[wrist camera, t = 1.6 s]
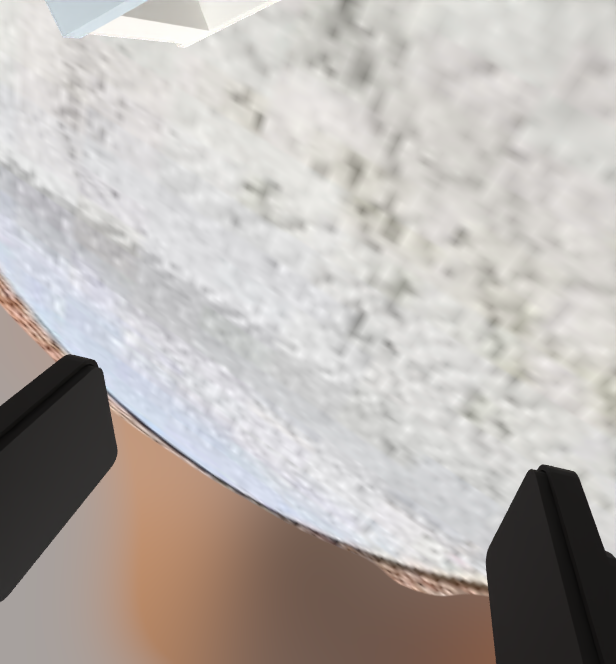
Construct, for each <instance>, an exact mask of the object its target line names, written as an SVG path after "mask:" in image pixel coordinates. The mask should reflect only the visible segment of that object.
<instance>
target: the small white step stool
mask: <svg viewBox="0 0 616 664" xmlns="http://www.w3.org/2000/svg"><path fill="white" fill-rule="evenodd" d="M278 1H280V0H45V2H46V4H47V6H48V8H49V10H50V12H51V14H52V16H53V18H54V20H55V22H56V24H57V26H58V28H59V30H60V32H61V34H62V36H63V37H68V38H79V39H80V38H82V37H84V36H86V35H87V34H92V35H102V36H112V37H122V38H132V39H141V40H151V41H161V42H171V43H176V45H177V47H185V48H186V47H188V46H190V45H192V44H194V43H196V42H198V41H200V40H202V39H204V38H206V37H208V36H210V35H212V34H214V33H216V32H218V31H220V30H222V29H224V28H226V27H228V26H230V25H232V24H234V23H236V22H238V21H240V20H242V19H244V18H246V17H248V16H250V15H252V14H254V13H256V12H258V11H260V10H262V9H264V8H266V7H268V6H270V5H272V4H274V3H276V2H278Z"/></svg>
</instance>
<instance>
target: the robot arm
mask: <svg viewBox="0 0 616 664" xmlns="http://www.w3.org/2000/svg"><path fill="white" fill-rule="evenodd" d="M116 457H117V445H116V440H115V434H114V429H113V424H112V418H111V412H110V407H109V402H108V396H107V391H106V385H105V380H104V375H103V371H102V369H101V368H99V367H98V364H97V362H96V361H95V360H92V359H89V358H84V357H80V356H76V355H71V354H69V355H66V356H64V357H62V358H61V359H60V360H58V361H57V362H56V363H55V364H53V365H52V366H51V367H50V368H48V369H47V370H46V371H44V372H43V373H42V374H41V375H39V376H38V377H37V378H36V379H34V380H33V381H32V382H31V383H29V384H28V385H27V386H25V387H24V388H23V389H22V390H20V391H19V392H18V393H16V394H15V395H14V396H13V397H11V398H10V399H9V400H8V401H6V402H5V403H4V404H2V405H1V406H0V602H1V601H3V600H4V599H5V598H6V597H7V596H8V595H9V594H10V593H11V592H12V590H13V589H14V588H15V587H16V585H17V584H18V583H19V582H20V580H21V579H22V578H23V576H24V575H25V574H26V573H27V572H28V570H29V569H30V568H31V566H32V565H33V564H34V563H35V562H36V560H37V559H38V558H39V557H40V555H41V554H42V553H43V552H44V550H45V549H46V548H47V547H48V545H49V544H50V543H51V542H52V540H53V539H54V538H55V537H56V535H57V534H58V533H59V532H60V530H61V529H62V528H63V527H64V525H65V524H66V523H67V522H68V520H69V519H70V518H71V517H72V515H73V514H74V513H75V512H76V510H77V509H78V508H79V507H80V506H81V504H82V503H83V502H84V500H85V499H86V498H87V497H88V495H89V494H90V493H91V492H92V491H93V489H94V488H95V487H96V486H97V484H98V483H99V482H100V480H101V479H102V478H103V477H104V475H105V474H106V473H107V472H108V471H109V469H110V468H111V467H112V465H113V464H114V462H115V460H116ZM486 572H487V581H488V590H489V600H490V609H491V617H492V627H493V637H494V646H495V656H496V664H616V558H615V557H614V556H613V555H612V554H611V553H609V552H607V551H605V550H604V547H603V544H602V541H601V538H600V536H599V533H598V530H597V527H596V524H595V521H594V519H593V516H592V513H591V510H590V507H589V505H588V502H587V499H586V496H585V493H584V491H583V488H582V485H581V482H580V479H579V477H578V475H577V474H576V473H575V472H574V471H570V470H566V469H561V468H557V467H553V466H549V465H543V464H542V465H541V466H539V468H538V469H537V470H533V469H530V470H529V471H528V472H527V474H526V476H525V478H524V480H523V482H522V484H521V485H520V487H519V489H518V491H517V493H516V495H515V497H514V499H513V501H512V503H511V505H510V507H509V509H508V511H507V513H506V515H505V517H504V519H503V521H502V523H501V525H500V526H499V528H498V530H497V532H496V534H495V536H494V538H493V540H492V542H491V544H490V546H489V548H488V551H487V556H486Z"/></svg>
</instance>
